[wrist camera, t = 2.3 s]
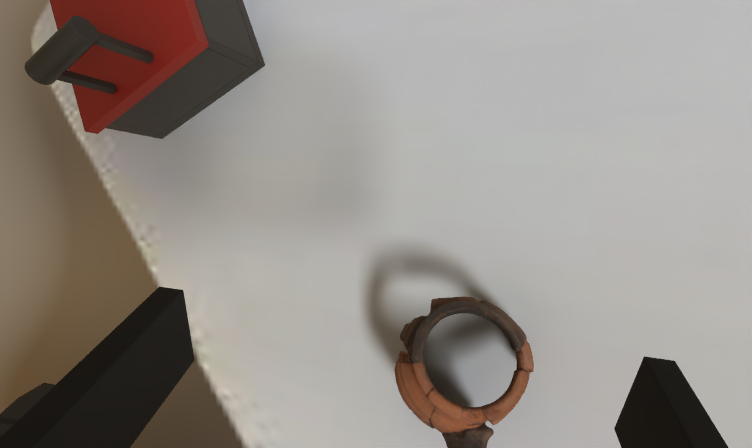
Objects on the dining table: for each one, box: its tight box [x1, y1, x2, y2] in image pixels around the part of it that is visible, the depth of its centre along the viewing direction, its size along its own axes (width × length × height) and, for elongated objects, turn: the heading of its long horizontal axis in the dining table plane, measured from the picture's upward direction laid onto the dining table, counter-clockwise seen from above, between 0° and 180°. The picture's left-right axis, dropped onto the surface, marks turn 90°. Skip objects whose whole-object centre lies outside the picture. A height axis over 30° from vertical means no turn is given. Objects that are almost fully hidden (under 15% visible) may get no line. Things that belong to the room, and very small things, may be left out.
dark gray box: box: [106, 0, 265, 139], centre depth 43 cm, size 16×15×7 cm
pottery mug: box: [395, 297, 534, 448], centre depth 31 cm, size 12×10×8 cm
